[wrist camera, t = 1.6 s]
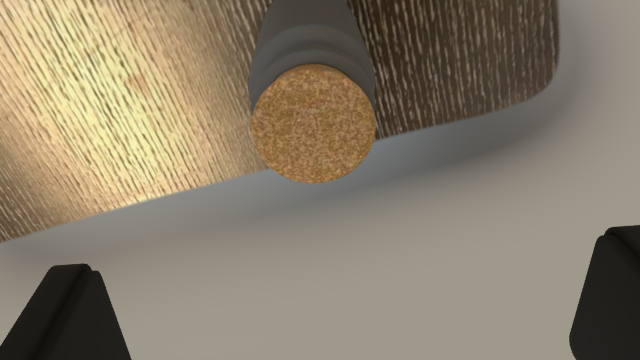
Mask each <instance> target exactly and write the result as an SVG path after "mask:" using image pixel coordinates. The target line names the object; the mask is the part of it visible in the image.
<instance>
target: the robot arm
mask: <svg viewBox="0 0 640 360" xmlns="http://www.w3.org/2000/svg"><path fill="white" fill-rule="evenodd" d="M569 340H570V341H569V342H570V347H571V350H572V353H573V355H574V357H575V358H576V360H640V225H635V226H620V227H611V228H609V229H608V230H607V231H606V232H605V234H604V235H603V236H600V237H599V238H598V239H597V241H596V244H595V247H594V251H593V254H592V258H591V261H590V265H589V268H588V272H587V276H586V279H585V283H584V286H583V289H582V293H581V297H580V300H579V304H578V307H577V311H576V314H575V318H574V321H573V325H572V328H571V332H570V336H569ZM0 360H131V357H130V354H129V351H128V349H127V346H126V343H125V340H124V337H123V335H122V332H121V329H120V327H119V324H118V321H117V318H116V315H115V312H114V309H113V307H112V304H111V301H110V298H109V296H108V293H107V290H106V287H105V284H104V281H103V279H102V276H101V274H100V273H99V272H98V271H92V270H91V268H90V267H89V265H87V264H71V265H56V266H53V267H51V268H50V269H49V271H48V272H47V274H46V275H45V277H44V278H43V280H42V282H41V283H40V285H39V286H38V288H37V289H36V291H35V293H34V294H33V296H32V297H31V299H30V300H29V302H28V303H27V305H26V307H25V308H24V310H23V311H22V313H21V315H20V316H19V318H18V319H17V321H16V322H15V324H14V326H13V327H12V329H11V330H10V332H9V333H8V335H7V337H6V338H5V340H4V341H3V343H2V345H1V346H0Z"/></svg>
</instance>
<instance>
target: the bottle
mask: <svg viewBox="0 0 640 360" xmlns="http://www.w3.org/2000/svg"><path fill="white" fill-rule="evenodd" d="M248 90H249V97H250V101H251V116H252V120H251V129H252V138H253V141H254V144H255V147H256V149H257V151H258V153H259V155H260V156H261V158H262V159H263V161H264V162H265V163H266V164H267V165H268V166H269V167H270V168H271V169H272V170H274V171H275V172H277V173H278V174H280V175H282V176H284V177H286V178H289V179H290V180H294V181H298V182H303V183H323V182H329V181H332V180H335V179H338V178H340V177H343V176H345V175H346V174H348V173H349V172H351V171H352V170H354V169H355V168H356V167H357V166H358V165H359V164H360V163H361V162H362V161H363V160H364V159H365V157H366V156H367V154H368V152H369V150H370V149H371V146H372V144H373V141H374V137H375V130H376V119H375V100H374V94H375V74H374V70H373V66H372V63H371V60H370V57H369V54H368V51H367V49H366V46H365V44H364V41H363V38H362V36H361V33H360V31H359V28H358V26H357V23H356V21H355V18H354V16H353V14H352V12H351V10H350V8H349V6H348V5H347V3H346V2H345V1H344V0H273V2H272V3H271V4H270V6H269V8H268V10H267V12H266V14H265V17H264V20H263V23H262V26H261V30H260V33H259V37H258V40H257V44H256V47H255V51H254V55H253V58H252V62H251V66H250V71H249V78H248Z"/></svg>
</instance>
